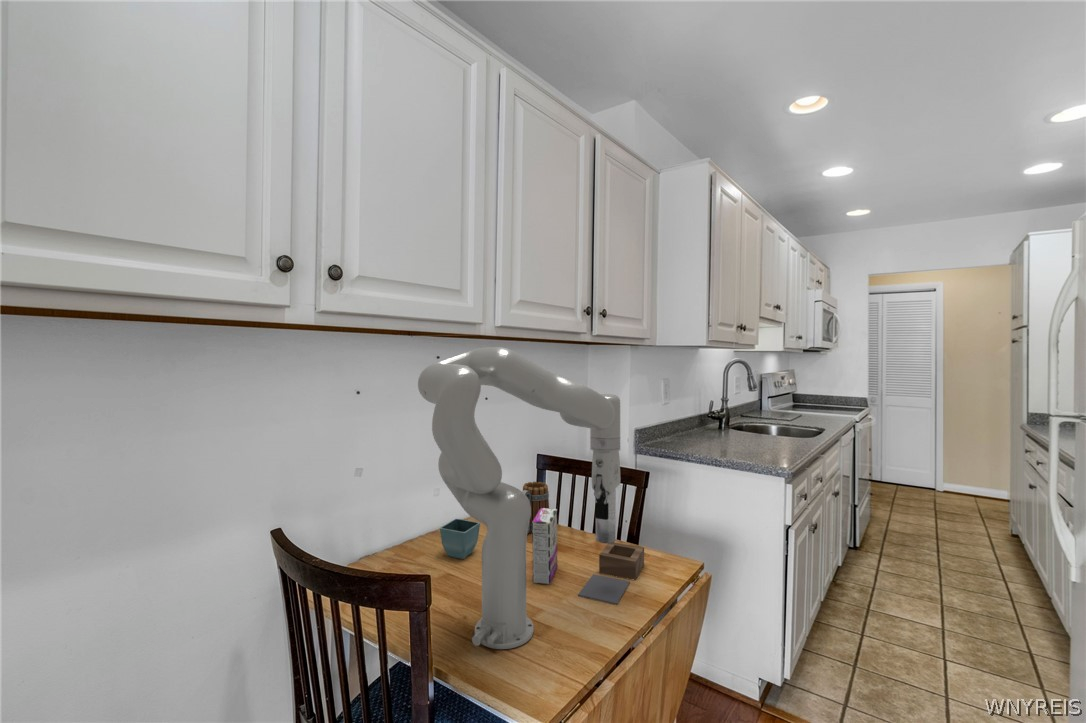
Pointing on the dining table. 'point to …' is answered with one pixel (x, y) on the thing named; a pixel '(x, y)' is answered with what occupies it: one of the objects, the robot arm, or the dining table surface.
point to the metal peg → (607, 521)
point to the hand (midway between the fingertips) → (605, 514)
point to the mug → (536, 498)
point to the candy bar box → (544, 545)
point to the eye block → (621, 560)
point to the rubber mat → (604, 589)
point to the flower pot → (459, 537)
